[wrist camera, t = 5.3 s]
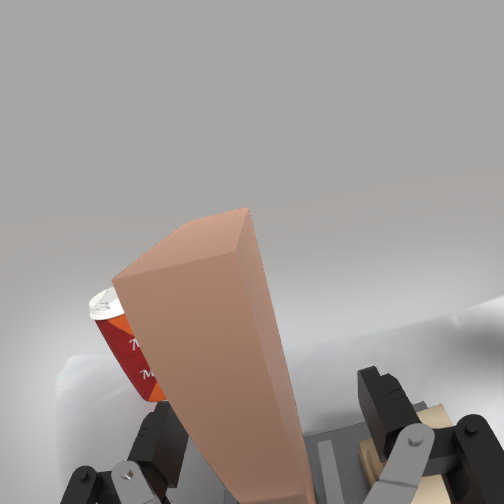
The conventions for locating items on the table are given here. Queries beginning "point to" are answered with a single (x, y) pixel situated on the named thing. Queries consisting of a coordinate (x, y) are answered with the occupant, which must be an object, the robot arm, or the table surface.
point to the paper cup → (124, 344)
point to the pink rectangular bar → (221, 355)
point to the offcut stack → (431, 487)
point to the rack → (336, 464)
